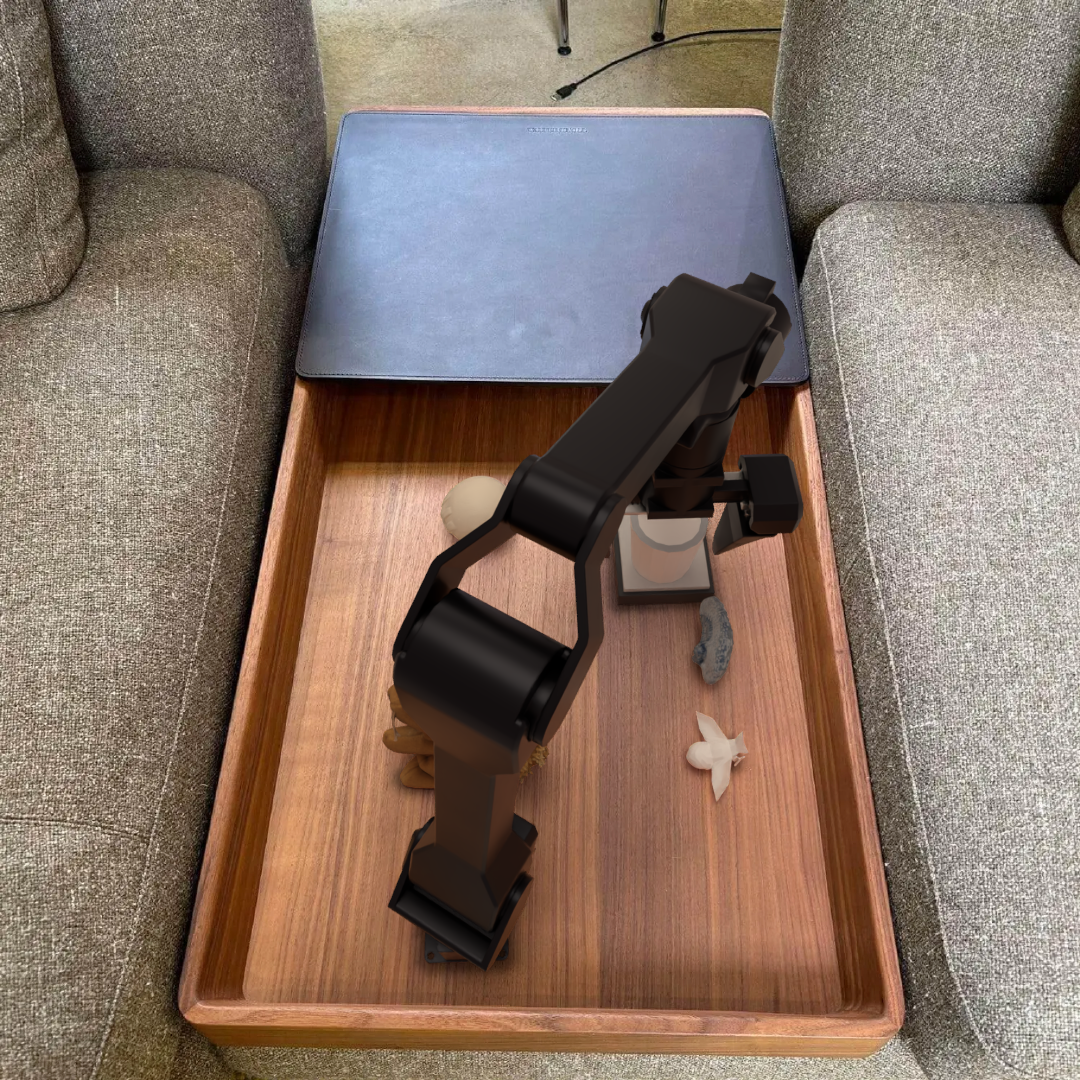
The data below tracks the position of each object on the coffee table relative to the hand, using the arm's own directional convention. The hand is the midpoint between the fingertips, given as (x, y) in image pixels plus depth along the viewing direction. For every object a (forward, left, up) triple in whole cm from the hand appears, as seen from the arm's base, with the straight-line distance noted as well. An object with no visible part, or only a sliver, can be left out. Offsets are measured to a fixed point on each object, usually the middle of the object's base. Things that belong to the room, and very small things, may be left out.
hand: (660, 551), depth 75 cm
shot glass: (+4, -1, -8) cm, 9 cm away
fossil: (-5, -5, -11) cm, 13 cm away
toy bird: (-15, -4, -11) cm, 19 cm away
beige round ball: (+9, +16, -11) cm, 21 cm away
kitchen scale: (+9, -2, -11) cm, 14 cm away
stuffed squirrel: (-12, +17, -11) cm, 23 cm away
